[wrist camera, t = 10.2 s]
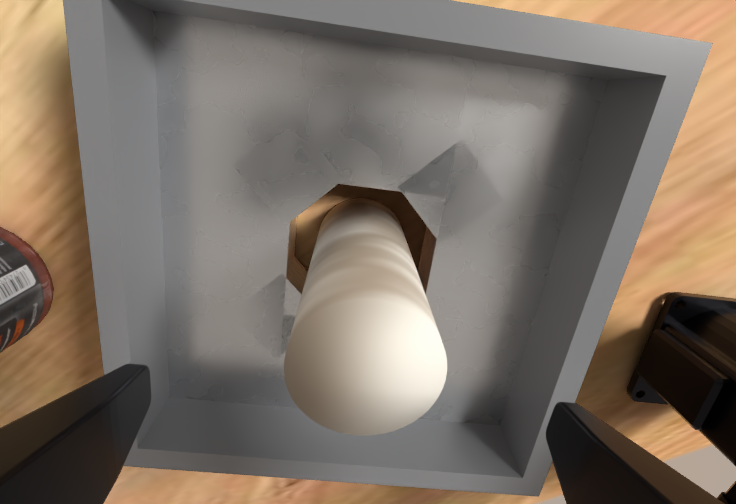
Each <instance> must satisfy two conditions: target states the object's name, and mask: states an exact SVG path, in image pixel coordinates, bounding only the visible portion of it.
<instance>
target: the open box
mask: <svg viewBox="0 0 736 504" xmlns="http://www.w3.org/2000/svg"><path fill="white" fill-rule="evenodd" d="M63 6H64V15H65V24H66V33H67V42H68V51H69V60H70V69H71V79H72V88H73V97H74V106H75V115H76V124H77V133H78V143H79V152H80V161H81V170H82V179H83V188H84V197H85V207H86V216H87V225H88V234H89V243H90V252H91V261H92V270H93V280H94V289H95V298H96V307H97V316H98V325H99V334H100V344H101V353H102V362H103V371H104V375H105V374H107V373H109V372H111V371H113V370H115V369H117V368H119V367H121V366H123V365H125V364H142V365H147V366H148V367H149V369H150V379H151V404H150V407H149V410H148V412H147V414H146V416H145V418H144V421H143V423H142V425H141V427H140V430H139V432H138V434H137V436H136V439H135V441H134V443H133V445H132V447H131V450H130V452H129V454H128V456H127V459H126V461H125V463H124V465H123V466H131V467H144V468H158V469H172V470H185V471H199V472H212V473H226V474H240V475H253V476H267V477H280V478H294V479H308V480H321V481H335V482H348V483H362V484H376V485H389V486H403V487H417V488H430V489H444V490H457V491H471V492H485V493H498V494H512V495H525V496H539V495H540V492H541V490H542V487H543V484H544V482H545V479H546V477H547V474H548V471H549V469H550V466H551V464H552V461H553V460H552V457H551V454H550V450H549V447H548V444H547V441H546V428H547V425H548V423H549V420H550V417H551V414H552V412H553V409H554V407H555V405H556V404H557V403H558V402H570V403H575V401H576V398H577V396H578V393H579V391H580V388H581V385H582V383H583V380H584V378H585V375H586V372H587V370H588V367H589V364H590V362H591V359H592V357H593V354H594V351H595V349H596V346H597V344H598V341H599V338H600V336H601V333H602V331H603V328H604V325H605V323H606V320H607V318H608V315H609V312H610V310H611V307H612V305H613V302H614V299H615V297H616V294H617V291H618V289H619V286H620V284H621V281H622V278H623V276H624V273H625V271H626V268H627V265H628V263H629V260H630V258H631V255H632V252H633V250H634V247H635V245H636V242H637V239H638V237H639V234H640V232H641V229H642V226H643V224H644V221H645V218H646V216H647V213H648V211H649V208H650V205H651V203H652V200H653V198H654V195H655V192H656V190H657V187H658V185H659V182H660V179H661V177H662V174H663V172H664V169H665V166H666V164H667V161H668V159H669V156H670V153H671V151H672V148H673V145H674V143H675V140H676V138H677V135H678V132H679V130H680V127H681V125H682V122H683V119H684V117H685V114H686V112H687V109H688V106H689V104H690V101H691V99H692V96H693V93H694V91H695V88H696V86H697V83H698V80H699V78H700V75H701V72H702V70H703V67H704V65H705V62H706V59H707V57H708V54H709V52H710V49H711V46H712V44H713V43H708V42H702V41H696V40H690V39H684V38H678V37H672V36H666V35H659V34H653V33H647V32H641V31H635V30H629V29H623V28H616V27H610V26H604V25H598V24H592V23H586V22H580V21H574V20H567V19H561V18H555V17H549V16H543V15H537V14H531V13H525V12H518V11H512V10H506V9H500V8H494V7H488V6H482V5H475V4H469V3H463V2H457V1H451V0H63ZM153 10H155V11H161V12H168V13H175V14H181V15H188V16H194V17H201V18H207V19H214V20H220V21H227V22H233V23H240V24H246V25H253V26H260V27H266V28H273V29H279V30H286V31H292V32H299V33H305V34H312V35H318V36H325V37H331V38H338V39H344V40H351V41H358V42H364V43H371V44H377V45H384V46H390V47H397V48H403V49H410V50H416V51H423V52H429V53H436V54H443V55H449V56H456V57H462V58H469V59H475V60H482V61H488V62H495V63H501V64H508V65H514V66H521V67H527V68H534V69H541V70H547V71H554V72H560V73H567V74H573V75H580V76H586V77H593V78H599V79H606V80H608V81H607V84H606V87H605V90H604V94H603V97H602V100H601V103H600V106H599V110H598V113H597V116H596V119H595V122H594V126H593V129H592V132H591V135H590V138H589V142H588V145H587V148H586V151H585V154H584V158H583V161H582V164H581V167H580V170H579V174H578V177H577V180H576V183H575V186H574V190H573V193H572V196H571V199H570V202H569V206H568V209H567V212H566V215H565V218H564V222H563V225H562V228H561V231H560V235H559V238H558V241H557V244H556V247H555V251H554V254H553V257H552V260H551V263H550V267H549V270H548V273H547V276H546V279H545V283H544V286H543V289H542V292H541V295H540V299H539V302H538V305H537V308H536V311H535V315H534V318H533V321H532V324H531V327H530V331H529V334H528V337H527V340H526V343H525V347H524V350H523V353H522V356H521V359H520V363H519V366H518V369H517V372H516V376H515V379H514V382H513V385H512V388H511V392H510V395H509V398H508V401H507V404H506V408H505V411H504V414H503V417H502V420H501V424H500V426H499V425H487V424H476V423H464V422H452V421H441V420H429V419H417V420H415V421H414V422H413V423H411V424H409V425H407V426H405V427H403V428H400V429H398V430H395V431H392V432H388V433H384V434H378V435H368V436H360V435H349V434H344V433H340V432H336V431H333V430H330V429H328V428H325V427H323V426H321V425H319V424H318V423H316V422H315V421H313V420H311V419H310V418H309V417H308V416H307V415H305V414H304V413H303V412H302V411H301V410H300V409H299V408H290V407H278V406H266V405H255V404H243V403H232V402H220V401H208V400H197V399H185V398H174V397H169V374H168V351H167V328H166V305H165V282H164V259H163V235H162V212H161V189H160V166H159V143H158V120H157V97H156V74H155V51H154V28H153Z"/></svg>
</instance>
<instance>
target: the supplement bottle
mask: <svg viewBox="0 0 736 504" xmlns="http://www.w3.org/2000/svg"><path fill="white" fill-rule="evenodd" d="M53 290H54V288H53V284H52V280H51V277H50V274H49V272H48V269H47V268H46V265H45V264H44V262H43V260H42V259H41V258H40V257H39V254H38V253H36V252H35V250H34V249H33V248H32V247H31V246H30V245H29V244H27V243H26V242H25V241H23V240H22V239H21V238H19V237H18V236H16V235H15V234H14V233H11V232H9V231H7V230H5V229H3V228H1V227H0V353H1V352H2V351H3V350H5V349H6V348H8V347H9V346H11V345H12V344H14V343H15V342H17V341H18V340H20V339H21V338H22V337H23V336H25V335H27V334H28V333H29V332H30V331H31V330H32V329H33V328H34V327H36V326H37V325H38V324H39V323H40V322H41V321H42V320H43V319H44V317H45V316H46V315H47V313H48V311H49V309H50V307H51V303H52V299H53Z"/></svg>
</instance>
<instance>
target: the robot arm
mask: <svg viewBox="0 0 736 504" xmlns="http://www.w3.org/2000/svg"><path fill="white" fill-rule="evenodd" d="M678 301H680V302H679V303H678V304H677V305H676V303H677V302H678ZM638 391H639V392H638ZM627 394H628V395H629V396H630V397H631V398H632V399H633V400H634V401H637V402H648V403H659V404H669V405H670V406H671V407H672V408H673V409H674V410H675V411H676V412H677V413H678V414H679V415H680V416H681V417H682V418H683V419H684V420H685V421H686V422H687V423H688V424H689V425H690V426H691V427H692V428H694V429H695V430H699V431H700V432H701V433H702V434H703V435H704V436H705V437H706V438H707V439H708V440H709V441H710V442H711V443H712V444H713V445H714V446H715V447H716V448H717V449H719V451H721V452H722V453H723V454H724V455H725V456H726V457H727V458H728V459H729V460H730V461H731V462H732V463H733V464H734V465H735V466H736V299H733V298H724V297H716V296H707V295H698V294H689V293H681V292H675V293H672V294H670V295H669V296H668V297H667V299H666V300H665V302H664V305H663V307H662V309H661V312H660V314H659V316H658V319H657V321H656V323H655V325H654V328H653V330H652V332H651V335H650V337H649V339H648V342H647V344H646V346H645V349H644V351H643V353H642V356H641V358H640V360H639V362H638V365H637V367H636V369H635V372H634V374H633V376H632V379H631V381H630V383H629V386H628V388H627ZM150 404H151V379H150V369H149V367H148V366H147V365H142V364H125V365H123V366H121V367H119V368H117V369H115V370H113V371H111V372H109V373H107V374H105V375H104V376H102V377H100V378H98V379H96V380H94V381H92V382H90V383H88V384H86V385H84V386H82V387H80V388H78V389H76V390H74V391H72V392H70V393H68V394H66V395H64V396H62V397H60V398H58V399H56V400H54V401H53V402H51V403H49V404H47V405H45V406H43V407H41V408H39V409H37V410H35V411H33V412H31V413H29V414H27V415H25V416H23V417H21V418H19V419H17V420H15V421H13V422H11V423H9V424H7V425H5V426H3V427H2V428H0V504H103V503H104V501H105V499H106V498H107V496H108V494H109V492H110V491H111V489H112V487H113V485H114V483H115V482H116V480H117V478H118V476H119V474H120V472H121V470H122V467H123V465H124V463H125V461H126V459H127V456H128V454H129V452H130V450H131V447H132V445H133V443H134V441H135V439H136V436H137V434H138V432H139V430H140V427H141V425H142V423H143V421H144V418H145V416H146V414H147V412H148V410H149V407H150ZM546 441H547V444H548V447H549V450H550V454H551V457H552V460H553V463H554V466H555V469H556V472H557V476H558V479H559V482H560V485H561V488H562V491H563V495H564V497H565V500H566V503H567V504H736V481H735V482H734V484H733V485H732V486H731V487H730V488H729V489H728V490H727V492H726V493H725V492H722V493H721V494H720V495H719V496H718V497H717V498H715V497H714V496H712V495H711V494H709V493H708V492H706V491H705V490H703V489H702V488H701V487H699V486H698V485H696V484H695V483H693V482H692V481H690V480H689V479H687V478H686V477H684V476H683V475H681V474H680V473H678V472H677V471H675V470H674V469H673V468H671V467H670V466H668V465H667V464H665V463H664V462H662V461H661V460H659V459H658V458H656V457H655V456H653V455H652V454H650V453H649V452H648V451H646V450H645V449H643V448H642V447H640V446H639V445H637V444H636V443H634V442H633V441H631V440H630V439H628V438H627V437H625V436H624V435H622V434H621V433H620V432H618V431H617V430H615V429H614V428H612V427H611V426H609V425H608V424H606V423H605V422H603V421H602V420H600V419H599V418H597V417H596V416H595V415H593V414H592V413H590V412H589V411H587V410H586V409H584V408H583V407H581V406H580V405H578V404H576V403H570V402H558V403H557V404H556V405H555V407H554V409H553V412H552V414H551V417H550V420H549V423H548V425H547V428H546Z"/></svg>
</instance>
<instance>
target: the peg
mask: <svg viewBox="0 0 736 504" xmlns="http://www.w3.org/2000/svg"><path fill="white" fill-rule="evenodd" d="M446 375H447V357H446V352H445V349H444V345H443V343H442V340H441V337H440V334H439V331H438V328H437V326H436V323H435V320H434V317H433V314H432V312H431V309H430V306H429V303H428V300H427V298H426V295H425V292H424V289H423V286H422V283H421V281H420V278H419V275H418V272H417V269H416V267H415V264H414V261H413V258H412V255H411V253H410V250H409V247H408V244H407V241H406V238H405V236H404V233H403V230H402V227H401V224H400V222H399V220H398V218H397V217H396V215H395V214H394V213H393V212H392V211H391V210H390V209H389V208H388V207H387V206H385V205H384V204H382V203H380V202H378V201H375V200H372V199H367V198H355V199H350V200H347V201H344V202H342V203H340V204H338V205H337V206H335V207H334V208H333V209H331V210H330V211H329V213H328V214H327V215H326V216H325V218H324V219H323V221H322V223H321V226H320V229H319V233H318V237H317V240H316V244H315V248H314V251H313V255H312V259H311V262H310V266H309V270H308V273H307V277H306V281H305V284H304V288H303V292H302V295H301V299H300V303H299V306H298V310H297V314H296V317H295V321H294V325H293V328H292V332H291V336H290V339H289V343H288V347H287V350H286V354H285V359H284V378H285V383H286V386H287V389H288V392H289V394H290V396H291V398H292V399H293V401H294V402H295V404H296V405H297V406H298V408H299V409H300V410H301V411H302V412H303V413H304V414H305V415H307V416H308V417H309V418H310V419H311V420H313V421H315V422H316V423H318V424H319V425H321V426H323V427H325V428H328V429H330V430H333V431H336V432H340V433H344V434H349V435H360V436H368V435H378V434H384V433H388V432H392V431H395V430H398V429H400V428H403V427H405V426H407V425H409V424H411V423H413V422H414V421H415V420H417V419H418V418H420V417H421V416H422V415H423V414H425V413H426V412H427V411H428V410H429V409H430V408H431V406H432V405H433V404H434V403H435V401H436V400H437V398H438V397H439V395H440V393H441V391H442V389H443V387H444V383H445V380H446Z"/></svg>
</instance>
